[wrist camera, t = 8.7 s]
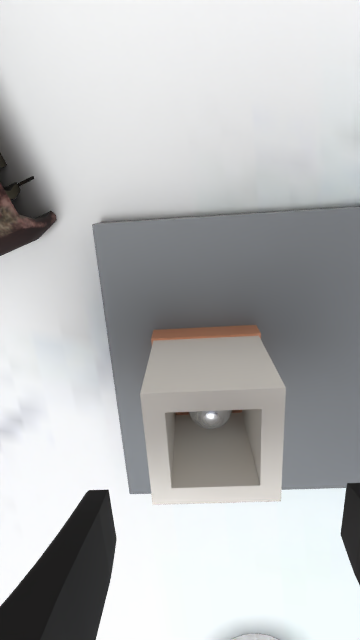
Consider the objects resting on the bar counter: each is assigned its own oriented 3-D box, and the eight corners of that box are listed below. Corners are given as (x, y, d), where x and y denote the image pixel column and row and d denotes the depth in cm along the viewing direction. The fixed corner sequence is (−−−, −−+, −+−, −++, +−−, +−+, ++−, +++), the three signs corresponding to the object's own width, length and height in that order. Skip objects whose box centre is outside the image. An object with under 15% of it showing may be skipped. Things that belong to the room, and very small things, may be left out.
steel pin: (225, 356, 18) (234, 397, 14) (225, 389, 19) (235, 438, 15) (186, 358, 18) (186, 399, 14) (188, 391, 19) (188, 439, 15)
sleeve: (256, 324, 17) (289, 385, 12) (255, 413, 19) (283, 503, 13) (153, 330, 18) (136, 391, 12) (161, 416, 19) (150, 506, 14)
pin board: (555, 193, 16) (590, 193, 15) (480, 464, 22) (501, 483, 20) (99, 222, 17) (92, 224, 16) (133, 475, 23) (129, 494, 21)
